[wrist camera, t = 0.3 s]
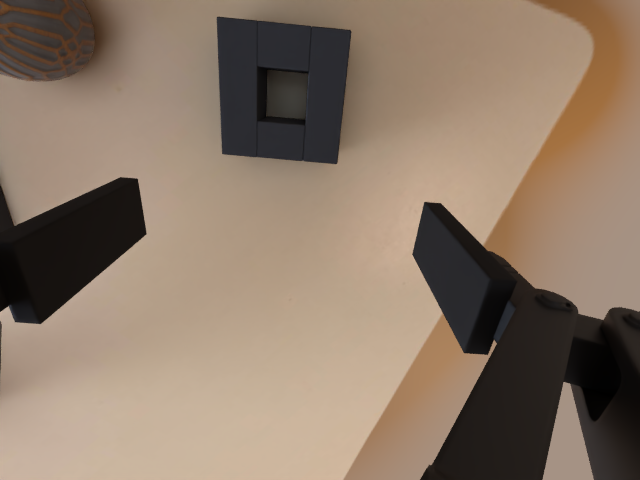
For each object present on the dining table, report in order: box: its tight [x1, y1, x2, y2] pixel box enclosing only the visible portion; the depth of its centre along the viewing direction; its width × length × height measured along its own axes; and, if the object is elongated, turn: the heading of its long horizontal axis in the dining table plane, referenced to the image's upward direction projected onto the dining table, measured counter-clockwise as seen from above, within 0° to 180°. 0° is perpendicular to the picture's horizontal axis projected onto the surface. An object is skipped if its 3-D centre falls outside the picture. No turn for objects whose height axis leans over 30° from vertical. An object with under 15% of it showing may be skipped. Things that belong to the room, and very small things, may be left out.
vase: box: [0, 0, 95, 81], centre depth 19 cm, size 7×7×9 cm
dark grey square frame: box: [217, 17, 351, 164], centre depth 23 cm, size 8×8×4 cm
